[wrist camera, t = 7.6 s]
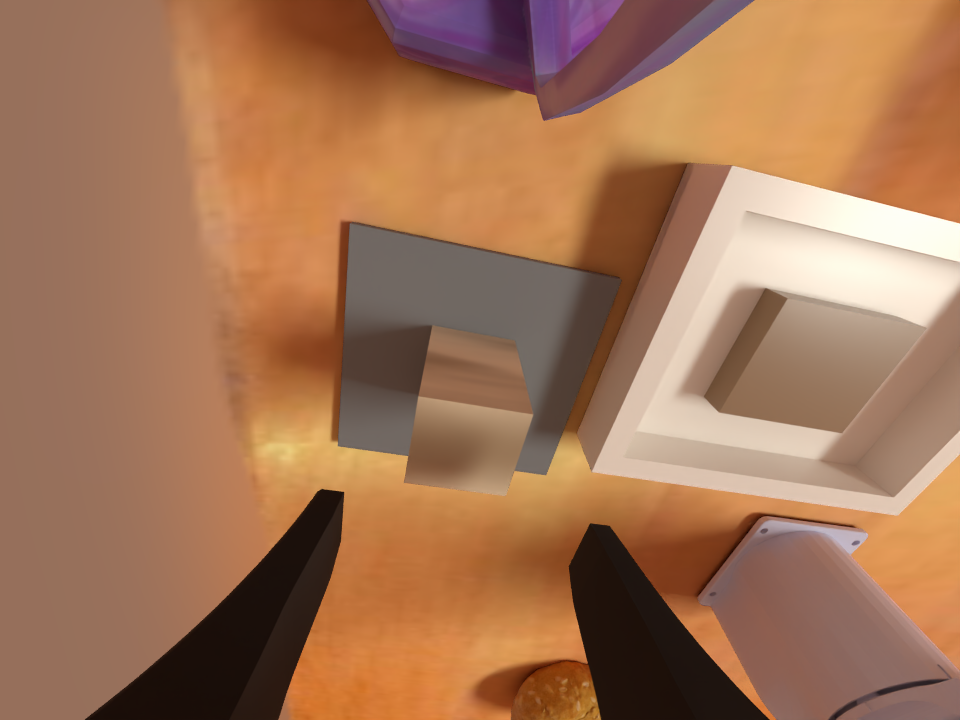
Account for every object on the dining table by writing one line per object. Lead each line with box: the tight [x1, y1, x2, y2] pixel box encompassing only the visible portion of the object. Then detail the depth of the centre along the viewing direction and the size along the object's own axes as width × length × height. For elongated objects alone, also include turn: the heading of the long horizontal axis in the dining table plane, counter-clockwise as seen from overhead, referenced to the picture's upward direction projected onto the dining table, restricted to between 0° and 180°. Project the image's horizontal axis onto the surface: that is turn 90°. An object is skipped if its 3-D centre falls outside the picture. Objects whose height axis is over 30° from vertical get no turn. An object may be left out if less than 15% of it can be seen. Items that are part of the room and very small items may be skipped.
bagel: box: [511, 661, 601, 720], centre depth 34 cm, size 10×11×5 cm
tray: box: [577, 163, 960, 516], centre depth 19 cm, size 14×18×3 cm
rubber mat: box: [338, 222, 622, 475], centre depth 20 cm, size 12×12×1 cm
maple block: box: [404, 325, 533, 496], centre depth 17 cm, size 4×4×6 cm
